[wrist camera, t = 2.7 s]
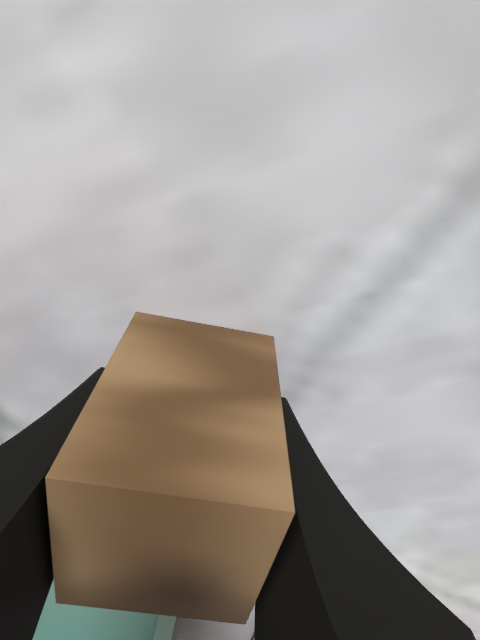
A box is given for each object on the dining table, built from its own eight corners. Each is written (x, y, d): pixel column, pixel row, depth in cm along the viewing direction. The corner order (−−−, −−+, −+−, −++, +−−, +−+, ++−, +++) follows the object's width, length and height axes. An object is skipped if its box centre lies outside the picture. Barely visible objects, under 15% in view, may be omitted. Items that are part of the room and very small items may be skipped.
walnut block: (273, 336, 12) (294, 512, 7) (245, 433, 14) (245, 624, 9) (135, 311, 12) (44, 478, 6) (128, 415, 14) (56, 603, 8)
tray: (199, 492, 16) (192, 554, 14) (163, 652, 23) (154, 707, 21) (-209, 435, 14) (-290, 493, 12) (-105, 624, 22) (-144, 680, 20)
